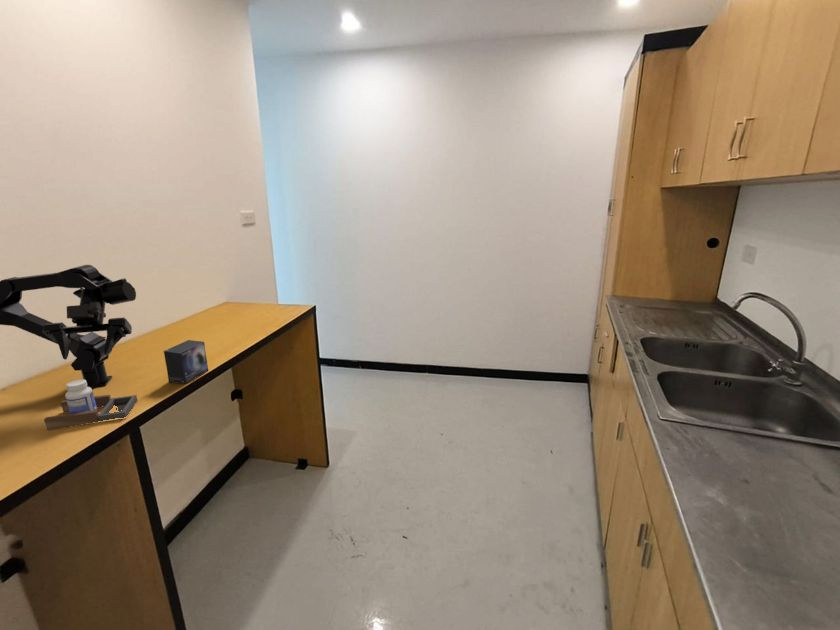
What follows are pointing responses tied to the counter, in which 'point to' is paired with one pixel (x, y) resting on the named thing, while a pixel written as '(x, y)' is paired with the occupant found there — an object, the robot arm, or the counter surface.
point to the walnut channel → (76, 415)
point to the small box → (186, 361)
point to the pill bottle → (80, 397)
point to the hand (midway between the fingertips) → (85, 356)
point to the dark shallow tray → (121, 403)
